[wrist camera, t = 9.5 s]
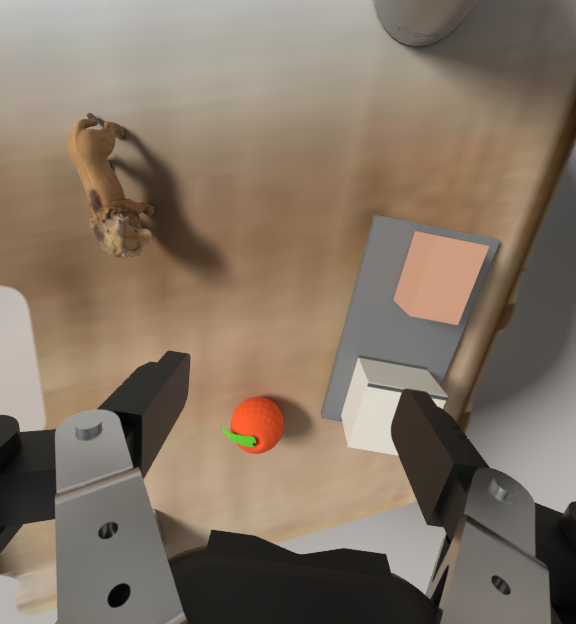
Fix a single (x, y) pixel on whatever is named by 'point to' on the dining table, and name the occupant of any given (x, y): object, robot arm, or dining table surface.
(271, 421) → the clementine
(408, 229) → the grey tray
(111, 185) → the lion figurine
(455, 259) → the stub
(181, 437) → the dining table surface
